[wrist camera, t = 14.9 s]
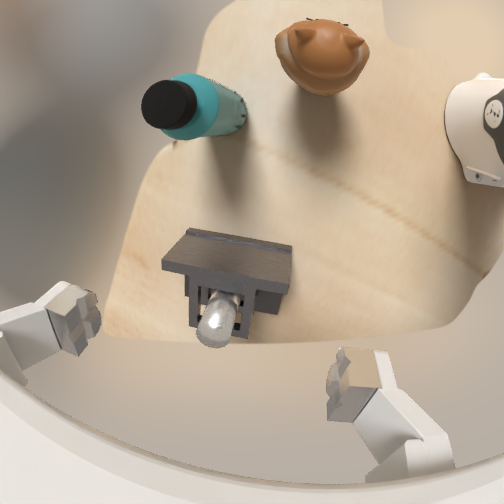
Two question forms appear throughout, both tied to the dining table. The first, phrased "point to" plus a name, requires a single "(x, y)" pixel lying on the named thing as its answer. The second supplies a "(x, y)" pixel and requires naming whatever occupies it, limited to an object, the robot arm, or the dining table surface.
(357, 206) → the dining table surface
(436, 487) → the robot arm
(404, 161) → the dining table surface
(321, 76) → the cat ice cream
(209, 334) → the grey cylinder
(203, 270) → the collar stand
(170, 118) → the beverage bottle
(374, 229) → the dining table surface
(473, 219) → the dining table surface
